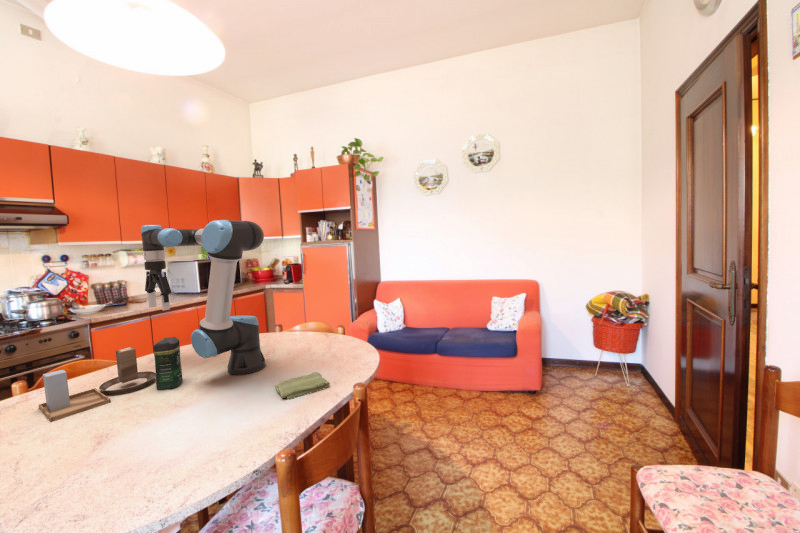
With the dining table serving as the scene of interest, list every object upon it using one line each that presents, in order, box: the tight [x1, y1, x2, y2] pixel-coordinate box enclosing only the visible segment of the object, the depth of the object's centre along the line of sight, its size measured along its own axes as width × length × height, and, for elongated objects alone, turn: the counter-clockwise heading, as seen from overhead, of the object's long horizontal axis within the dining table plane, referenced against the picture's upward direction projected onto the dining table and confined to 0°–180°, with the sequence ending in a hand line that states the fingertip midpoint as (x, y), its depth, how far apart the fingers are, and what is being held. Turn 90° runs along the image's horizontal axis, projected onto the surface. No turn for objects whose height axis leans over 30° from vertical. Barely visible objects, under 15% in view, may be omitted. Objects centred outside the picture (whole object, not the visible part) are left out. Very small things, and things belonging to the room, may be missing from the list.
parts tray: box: [38, 388, 112, 423], centre depth 120 cm, size 17×15×2 cm
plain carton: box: [42, 369, 70, 412], centre depth 118 cm, size 4×5×12 cm
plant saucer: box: [98, 370, 156, 395], centre depth 135 cm, size 18×18×3 cm
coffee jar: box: [152, 336, 183, 391], centre depth 134 cm, size 10×8×19 cm
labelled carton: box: [115, 346, 139, 384], centre depth 135 cm, size 4×5×12 cm
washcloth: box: [275, 371, 330, 400], centre depth 128 cm, size 13×18×3 cm
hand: (159, 308), depth 153 cm, fingers open, 13 cm apart
